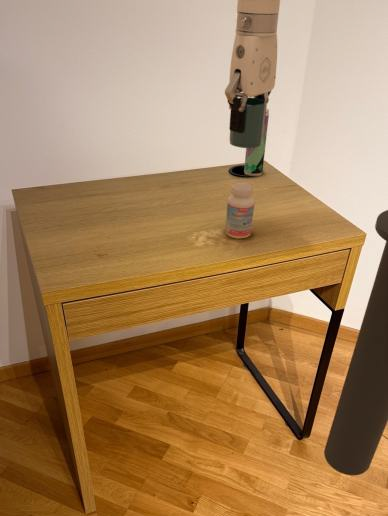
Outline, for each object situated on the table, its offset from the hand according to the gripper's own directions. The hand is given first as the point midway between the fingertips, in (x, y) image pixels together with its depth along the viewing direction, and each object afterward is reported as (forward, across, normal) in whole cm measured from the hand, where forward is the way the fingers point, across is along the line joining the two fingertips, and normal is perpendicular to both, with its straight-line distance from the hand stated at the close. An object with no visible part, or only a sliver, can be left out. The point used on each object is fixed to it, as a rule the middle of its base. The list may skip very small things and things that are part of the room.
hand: (247, 126), depth 101 cm
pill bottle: (+24, 0, 0) cm, 24 cm away
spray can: (+24, +37, +19) cm, 48 cm away
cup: (+3, 0, 0) cm, 3 cm away
